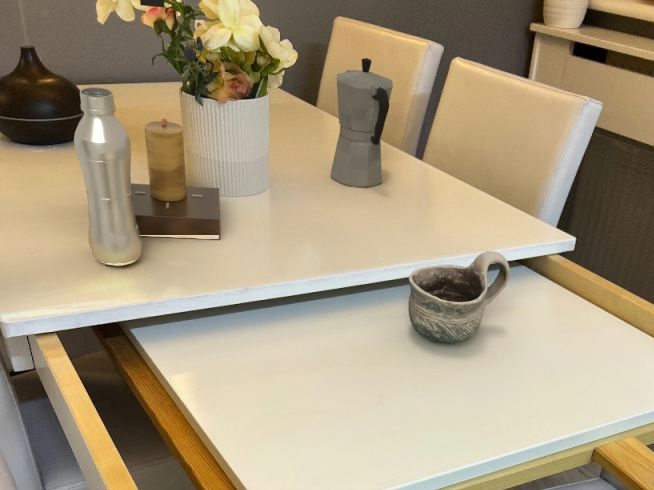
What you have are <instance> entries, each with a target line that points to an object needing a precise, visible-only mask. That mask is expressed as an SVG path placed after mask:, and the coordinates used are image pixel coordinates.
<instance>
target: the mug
mask: <svg viewBox="0 0 654 490" xmlns="http://www.w3.org/2000/svg"><path fill="white" fill-rule="evenodd" d="M492 264H498V265H499V271H498V274H497V275H496V277H495V279H494V281H493V282H492V283H491V284H490V285H489V286H488V278H487V275H488V274H487V273H488V269H489V267H490V266H491V265H492ZM510 275H511V269H510V265H509V262H508V260H507V258H506V257H505V256H504V255H503V254H501V253H500V252H498V251H493V250H491V251H489V250H488V251H484V252H481V253H480V254H478V255H477V256H476V257H475V259H474V260H473V261H472V262H471V263H470V264H469V265H468V266H464V265H458V264H437V265H426V266H423V267H420V268H416V269H414V270H413V271H412V272H411V273H410V274H409V276H408V283H409V287H410V293H409V297H408V303H407V304H408V305H407V307H408V308H407V309H408V317H409V321H410V323H411V326H412V327H413V329H414V330H415V331H416V332H417V333H419V335H420V336H422V337H424V338H426V339H428V340H430V341H433V342H436V343H448V344H449V343H459V342H463V341H465V340H467V339H469V338H470V337H472V336H473V334H475V333H476V331H477V330H478V329H479V327H480V326H481V323H482V321H483V318H484V311H485V308H486V306H488V305H489V304H490V303H491V302H492V301H494V300H495V299H496V298H497V297H498V296H499V294H501V292H502V291H504V289H505V287H506V286H507V284H508V282H509V280H510V277H511V276H510Z"/></svg>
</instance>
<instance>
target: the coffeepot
mask: <svg viewBox="0 0 654 490" xmlns="http://www.w3.org/2000/svg"><path fill="white" fill-rule="evenodd" d="M371 65H372V59H370V58H367V57H365V58H364V57H363V58H361V70H358V69H357V70H356V69H352V70H351V69H346V70H345V72H339V73H337V74H336V90H337V91H336V92H337V93H336V94H337V106H338V107H337V110H338V124H339V134H338V137H337V143H336V147H335V151H334V156H333V160H332V165H331V169H330V170H331V172H330V178H331V179H332V180H333V181H334V182H337V183H338V184H341V185H344V186H348V187H353V188H360V189H361V188H372V187H377V186H378V185H380V184H383V173H382V145H381V138H382V135H383V133H384V132H383V131H384V127H385V123H386V120H387V116H388V113H389V110H390V99H391V95H392V92H393V91H392V90H393V88H394V85H393V80H392V79H390V78H388V77H385V76H383V75H380V74H378V73H374V72H371V71H370V70H371Z"/></svg>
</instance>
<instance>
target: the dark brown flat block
mask: <svg viewBox="0 0 654 490" xmlns="http://www.w3.org/2000/svg"><path fill="white" fill-rule="evenodd" d="M186 188H187V196H186V198H184V199H182V200H179V201H161V200H158V199H155V198H153V197H152V196H151V194H150V183H149V184H148V183H132V182H131V193H132V202H133V208H134V213H135V218H136V224H137V225H138V229H139V232H140V235H220V236H221V221H220V220H221V216H220V215H221V210H220V209H221V208H220V207H221V205H220V188H219V187H203V186H187V185H186Z"/></svg>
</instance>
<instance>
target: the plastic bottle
mask: <svg viewBox="0 0 654 490" xmlns="http://www.w3.org/2000/svg"><path fill="white" fill-rule="evenodd" d="M79 97H80V98H79V99H80V104H79V105H80V110H81V112H83V115H82V117H81V118H80V120H79V122H78V124H77V127H76V129H75V132H74V137H73V143H74V148H75V151H76V157H77V159H78V163H79V166H80V169H81V173H82V176H83V177H82V178H83V183H84V187H85V193H86V198H87V210H88V231H87V232H88V234H87V235H88V245H89V248H90V252H91V254H92V256H93V257H94V259H96V261H98V260H99V261H101V262H104V263H113V264H115V263H116V264H117V263H127V262H131V261H134V260H136V259H137V258H138V259H139V258H140V256H141V254H142V247H143V246H142V244H143V242H142V241H143V240H142V237H141V236H140V232H139V229H138V225H137V224H136V218H135V213H134V208H133V202H132V193H131V183H132V179H131V171H132V170H131V168H132V167H131V166H132V142H131V138H130V136H129V133H128V131H127V129H125V127H124V126H123V124H122V123H121V122H120V121H119V119H118V118H117V117H116V116H115V112H116V111H117V108H116V104H115V96H114V93H113V91H112V90H111V89H108V88H103V87H98V86H96V87H91V86H90V87H85V88H84V87H83V88H82V89H80V91H79ZM138 259H137V260H138ZM99 261H98V262H99Z"/></svg>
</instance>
